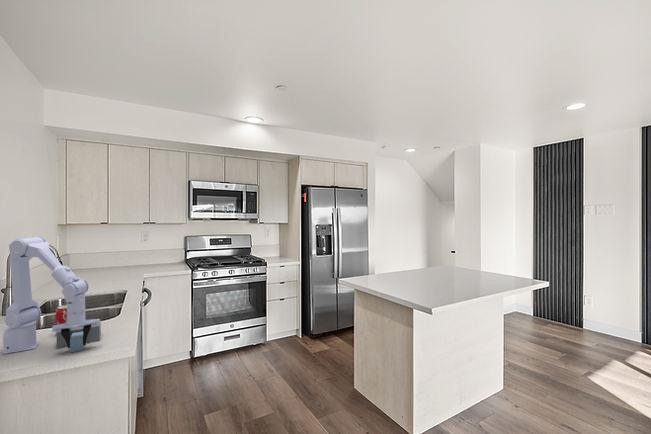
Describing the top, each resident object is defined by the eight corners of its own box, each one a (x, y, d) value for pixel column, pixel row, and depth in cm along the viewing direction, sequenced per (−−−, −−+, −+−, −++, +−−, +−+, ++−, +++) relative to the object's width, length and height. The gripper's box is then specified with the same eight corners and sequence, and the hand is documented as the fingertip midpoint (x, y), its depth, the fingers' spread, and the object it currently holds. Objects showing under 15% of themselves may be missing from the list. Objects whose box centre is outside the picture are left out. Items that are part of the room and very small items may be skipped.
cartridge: (70, 352, 126) (69, 339, 126) (74, 340, 137) (73, 329, 137) (83, 350, 128) (82, 337, 128) (85, 338, 139) (85, 327, 139)
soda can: (58, 337, 141) (57, 309, 140) (53, 333, 145) (52, 306, 144) (78, 332, 146) (77, 305, 146) (73, 329, 150) (72, 303, 150)
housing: (56, 348, 130) (56, 332, 130) (60, 340, 138) (59, 325, 138) (99, 340, 138) (99, 325, 137) (100, 333, 145) (100, 319, 145)
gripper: (50, 317, 121) (51, 354, 121) (98, 311, 128) (99, 345, 129) (53, 312, 127) (54, 347, 127) (99, 306, 134) (99, 339, 135)
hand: (77, 346), depth 128 cm, fingers closed on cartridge, 4 cm apart
